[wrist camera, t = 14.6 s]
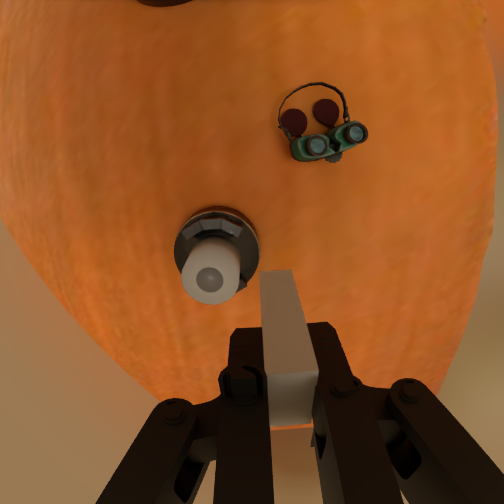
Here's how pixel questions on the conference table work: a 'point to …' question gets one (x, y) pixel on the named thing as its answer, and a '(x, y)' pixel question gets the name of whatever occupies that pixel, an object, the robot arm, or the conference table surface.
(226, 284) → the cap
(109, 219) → the conference table surface
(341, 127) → the binoculars
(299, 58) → the conference table surface
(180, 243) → the black round base
